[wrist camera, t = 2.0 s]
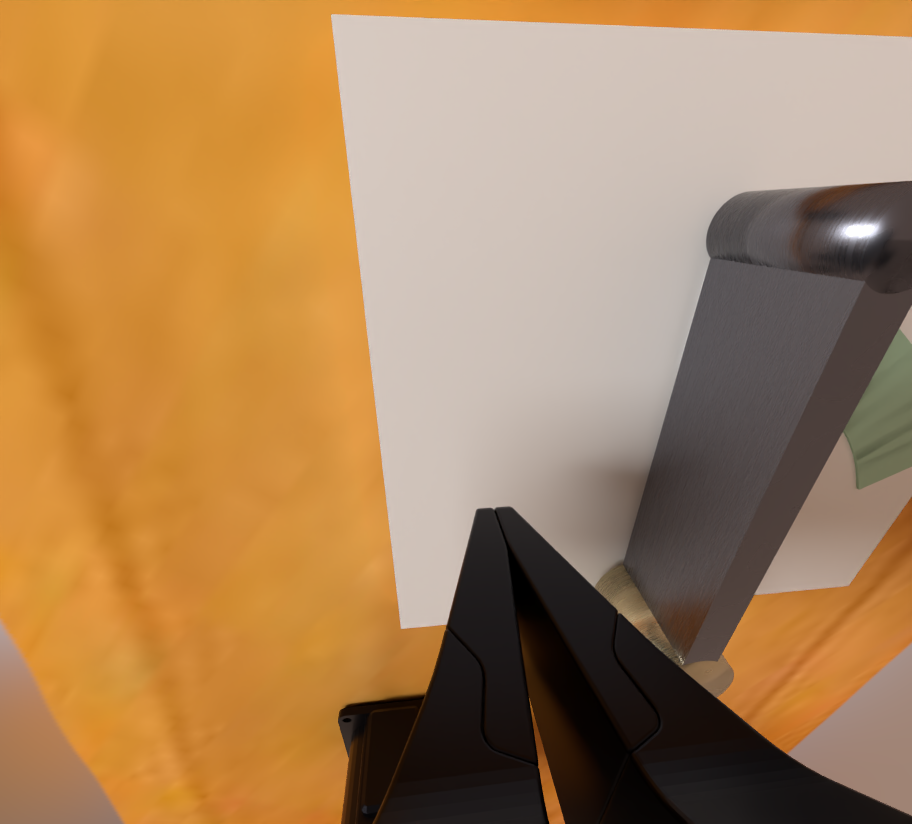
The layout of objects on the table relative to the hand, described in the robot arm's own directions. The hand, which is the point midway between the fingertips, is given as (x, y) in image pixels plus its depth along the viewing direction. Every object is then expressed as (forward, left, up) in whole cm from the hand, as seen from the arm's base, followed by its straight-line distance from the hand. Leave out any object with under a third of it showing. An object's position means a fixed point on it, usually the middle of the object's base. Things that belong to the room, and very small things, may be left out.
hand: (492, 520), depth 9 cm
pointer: (-1, -7, -4) cm, 8 cm away
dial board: (0, -8, -6) cm, 10 cm away
